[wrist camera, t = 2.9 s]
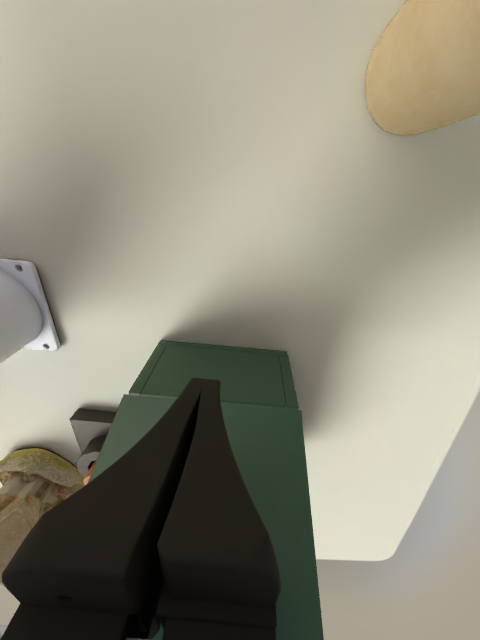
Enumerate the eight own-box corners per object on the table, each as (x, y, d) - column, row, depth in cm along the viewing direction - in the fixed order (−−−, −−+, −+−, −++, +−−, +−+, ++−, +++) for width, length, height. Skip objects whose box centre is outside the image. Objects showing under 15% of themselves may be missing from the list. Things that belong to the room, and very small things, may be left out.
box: (267, 450, 28) (271, 515, 23) (169, 441, 28) (148, 504, 23) (287, 351, 22) (298, 407, 16) (160, 339, 22) (128, 391, 16)
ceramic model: (117, 505, 35) (72, 611, 26) (51, 513, 37) (-11, 614, 28) (56, 440, 29) (-30, 551, 20) (-19, 454, 31) (-127, 560, 22)
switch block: (97, 468, 31) (81, 496, 28) (77, 408, 26) (56, 435, 24) (160, 474, 31) (151, 503, 28) (153, 415, 26) (141, 442, 23)
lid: (350, 982, 6) (361, 1020, 6) (-87, 933, 6) (-114, 968, 6) (298, 414, 16) (301, 409, 16) (126, 399, 16) (123, 393, 16)
